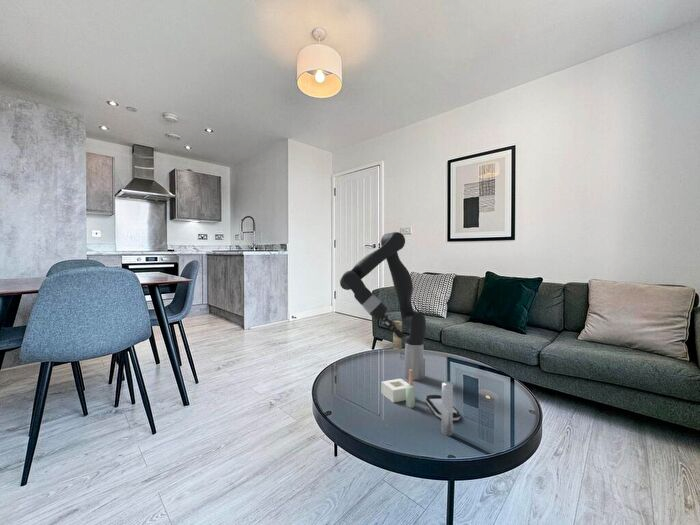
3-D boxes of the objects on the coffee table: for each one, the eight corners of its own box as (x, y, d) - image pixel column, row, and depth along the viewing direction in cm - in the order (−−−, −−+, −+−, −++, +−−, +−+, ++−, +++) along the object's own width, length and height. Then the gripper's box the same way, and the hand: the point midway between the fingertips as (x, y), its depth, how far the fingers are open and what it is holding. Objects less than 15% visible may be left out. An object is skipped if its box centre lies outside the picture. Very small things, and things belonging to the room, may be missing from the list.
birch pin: (398, 347, 129) (398, 320, 129) (403, 349, 126) (403, 321, 126) (391, 348, 128) (391, 321, 128) (395, 350, 124) (396, 322, 125)
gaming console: (422, 400, 123) (422, 394, 124) (442, 399, 124) (442, 393, 124) (440, 424, 104) (440, 416, 104) (464, 423, 105) (464, 415, 105)
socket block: (400, 389, 133) (400, 363, 133) (413, 398, 124) (413, 370, 124) (381, 393, 129) (381, 365, 129) (393, 402, 120) (393, 373, 120)
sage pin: (411, 403, 119) (411, 384, 120) (416, 406, 116) (417, 387, 116) (404, 404, 118) (404, 385, 118) (409, 408, 115) (409, 389, 115)
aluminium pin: (447, 428, 100) (447, 380, 101) (455, 434, 97) (455, 384, 97) (439, 431, 99) (439, 382, 99) (446, 436, 95) (446, 386, 96)
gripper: (379, 303, 121) (409, 333, 119) (381, 299, 135) (407, 327, 133) (367, 315, 122) (396, 346, 120) (369, 310, 136) (395, 338, 134)
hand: (402, 335), depth 127 cm, fingers closed on birch pin, 3 cm apart
